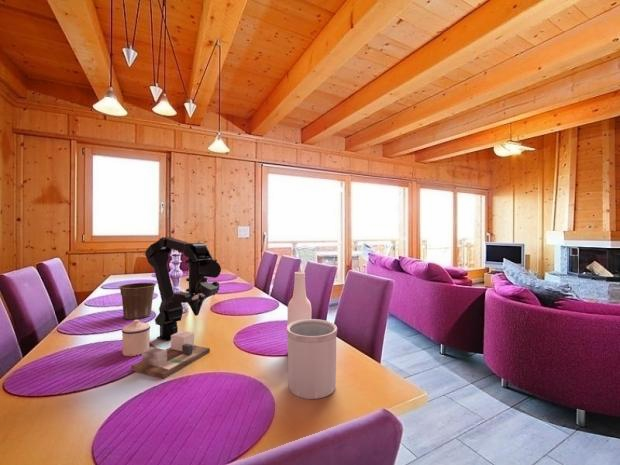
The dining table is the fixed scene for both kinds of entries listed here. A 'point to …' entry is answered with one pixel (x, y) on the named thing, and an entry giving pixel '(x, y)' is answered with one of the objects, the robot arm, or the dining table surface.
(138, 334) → the cream canister
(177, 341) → the pink rectangular block
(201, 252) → the robot arm
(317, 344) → the utensil holder
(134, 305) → the plant pot
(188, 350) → the dark grey upright block
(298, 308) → the alcohol
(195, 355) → the gauge board
